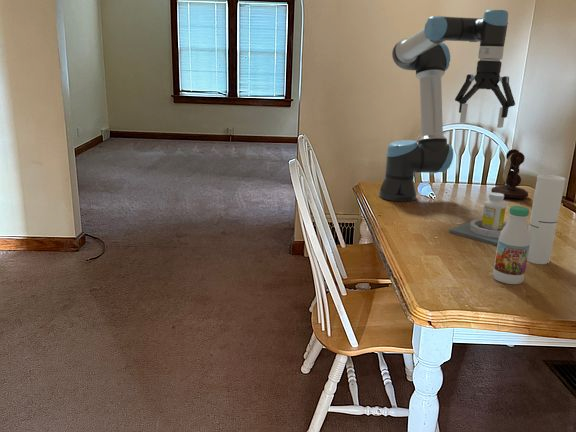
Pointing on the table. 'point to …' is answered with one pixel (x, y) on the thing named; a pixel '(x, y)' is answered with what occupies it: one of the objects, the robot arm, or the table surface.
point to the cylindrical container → (544, 217)
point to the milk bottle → (513, 248)
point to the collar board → (477, 232)
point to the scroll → (512, 176)
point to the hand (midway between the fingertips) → (480, 125)
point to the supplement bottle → (494, 212)
